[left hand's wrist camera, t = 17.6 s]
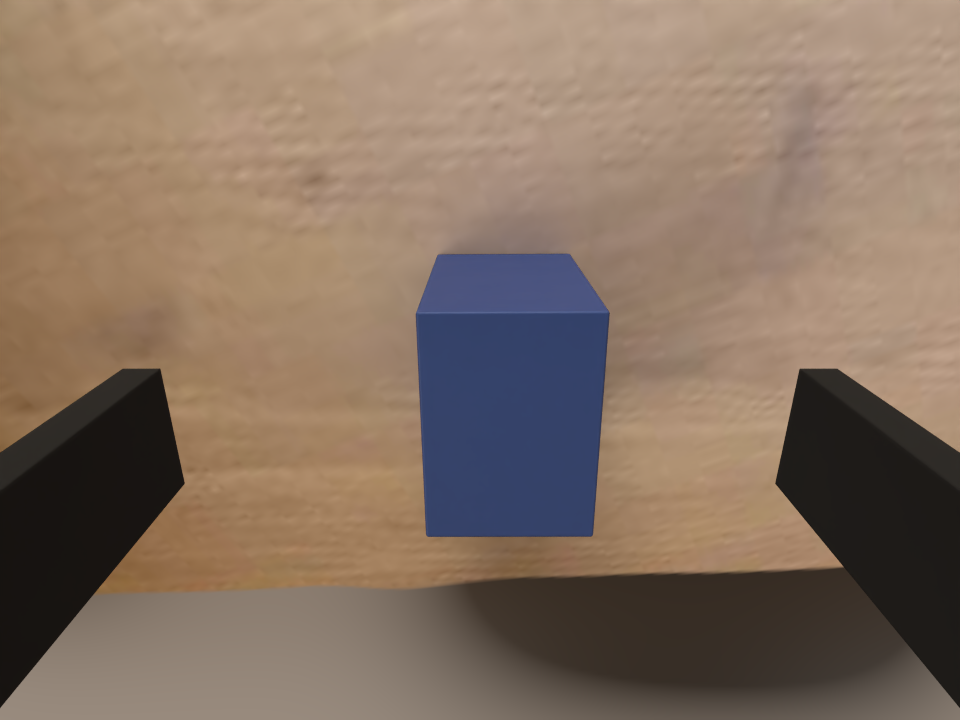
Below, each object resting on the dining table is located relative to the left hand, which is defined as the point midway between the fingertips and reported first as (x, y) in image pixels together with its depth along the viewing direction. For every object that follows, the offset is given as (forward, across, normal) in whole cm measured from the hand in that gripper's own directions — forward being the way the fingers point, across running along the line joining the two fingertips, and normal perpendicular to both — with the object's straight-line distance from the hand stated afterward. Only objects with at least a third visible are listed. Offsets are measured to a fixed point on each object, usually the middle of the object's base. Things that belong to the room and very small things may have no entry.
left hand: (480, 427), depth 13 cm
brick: (+14, -1, +3) cm, 14 cm away
